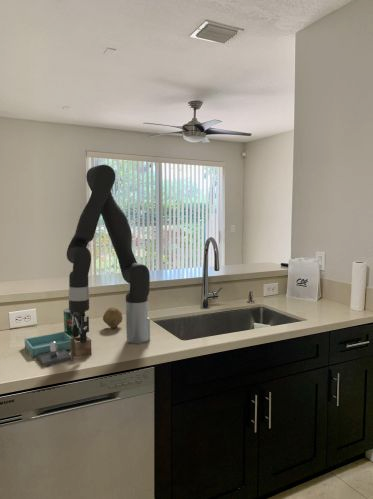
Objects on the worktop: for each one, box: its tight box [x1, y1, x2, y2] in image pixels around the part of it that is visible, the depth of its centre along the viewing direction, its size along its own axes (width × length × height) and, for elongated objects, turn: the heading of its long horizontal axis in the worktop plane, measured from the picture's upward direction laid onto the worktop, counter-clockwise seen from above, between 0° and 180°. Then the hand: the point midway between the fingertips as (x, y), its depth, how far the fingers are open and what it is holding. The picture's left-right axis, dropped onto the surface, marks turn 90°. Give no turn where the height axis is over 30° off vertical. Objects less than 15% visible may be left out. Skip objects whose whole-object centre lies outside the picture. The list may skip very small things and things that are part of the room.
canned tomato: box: [63, 307, 80, 337], centre depth 166 cm, size 8×8×11 cm
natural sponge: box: [102, 306, 123, 329], centre depth 175 cm, size 9×9×10 cm
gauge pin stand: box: [36, 342, 73, 368], centre depth 136 cm, size 10×10×7 cm
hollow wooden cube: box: [70, 335, 93, 359], centre depth 141 cm, size 6×6×6 cm
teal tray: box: [24, 331, 72, 359], centre depth 148 cm, size 16×14×4 cm
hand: (79, 339), depth 141 cm, fingers open, 8 cm apart
